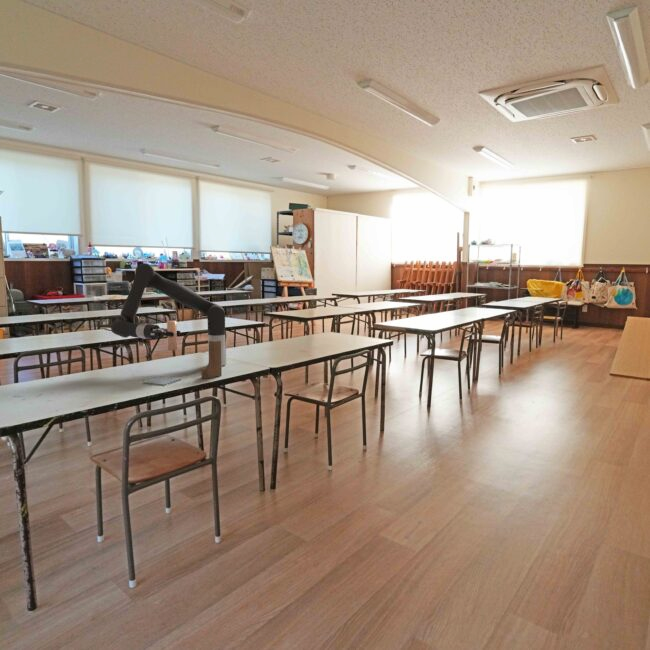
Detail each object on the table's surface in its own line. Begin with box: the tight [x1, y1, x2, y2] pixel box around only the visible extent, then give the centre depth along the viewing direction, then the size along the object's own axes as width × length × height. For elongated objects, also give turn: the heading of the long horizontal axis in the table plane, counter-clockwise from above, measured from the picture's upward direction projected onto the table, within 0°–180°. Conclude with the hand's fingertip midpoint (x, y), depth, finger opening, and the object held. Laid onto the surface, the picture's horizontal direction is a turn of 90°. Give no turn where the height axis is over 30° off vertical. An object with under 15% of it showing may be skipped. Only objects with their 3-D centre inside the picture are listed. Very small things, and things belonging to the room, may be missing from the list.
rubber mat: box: [143, 376, 182, 386], centre depth 221 cm, size 12×12×1 cm
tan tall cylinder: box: [166, 320, 178, 351], centre depth 226 cm, size 4×4×14 cm
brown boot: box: [201, 340, 223, 380], centre depth 230 cm, size 9×4×18 cm, turn 140°
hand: (176, 333), depth 225 cm, fingers closed on tan tall cylinder, 4 cm apart
